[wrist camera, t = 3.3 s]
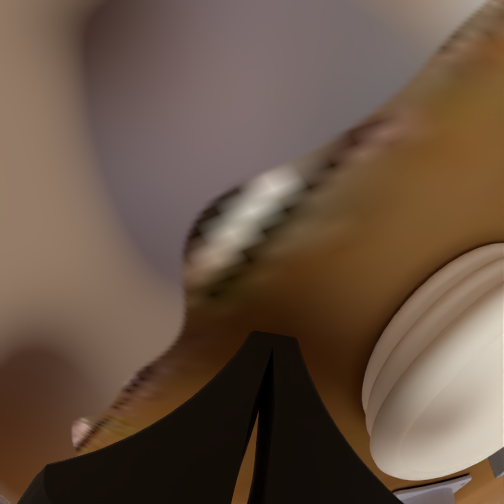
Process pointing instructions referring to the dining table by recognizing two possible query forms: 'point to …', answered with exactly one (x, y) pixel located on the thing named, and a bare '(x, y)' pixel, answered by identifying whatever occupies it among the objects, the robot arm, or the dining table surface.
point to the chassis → (497, 463)
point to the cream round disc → (441, 373)
